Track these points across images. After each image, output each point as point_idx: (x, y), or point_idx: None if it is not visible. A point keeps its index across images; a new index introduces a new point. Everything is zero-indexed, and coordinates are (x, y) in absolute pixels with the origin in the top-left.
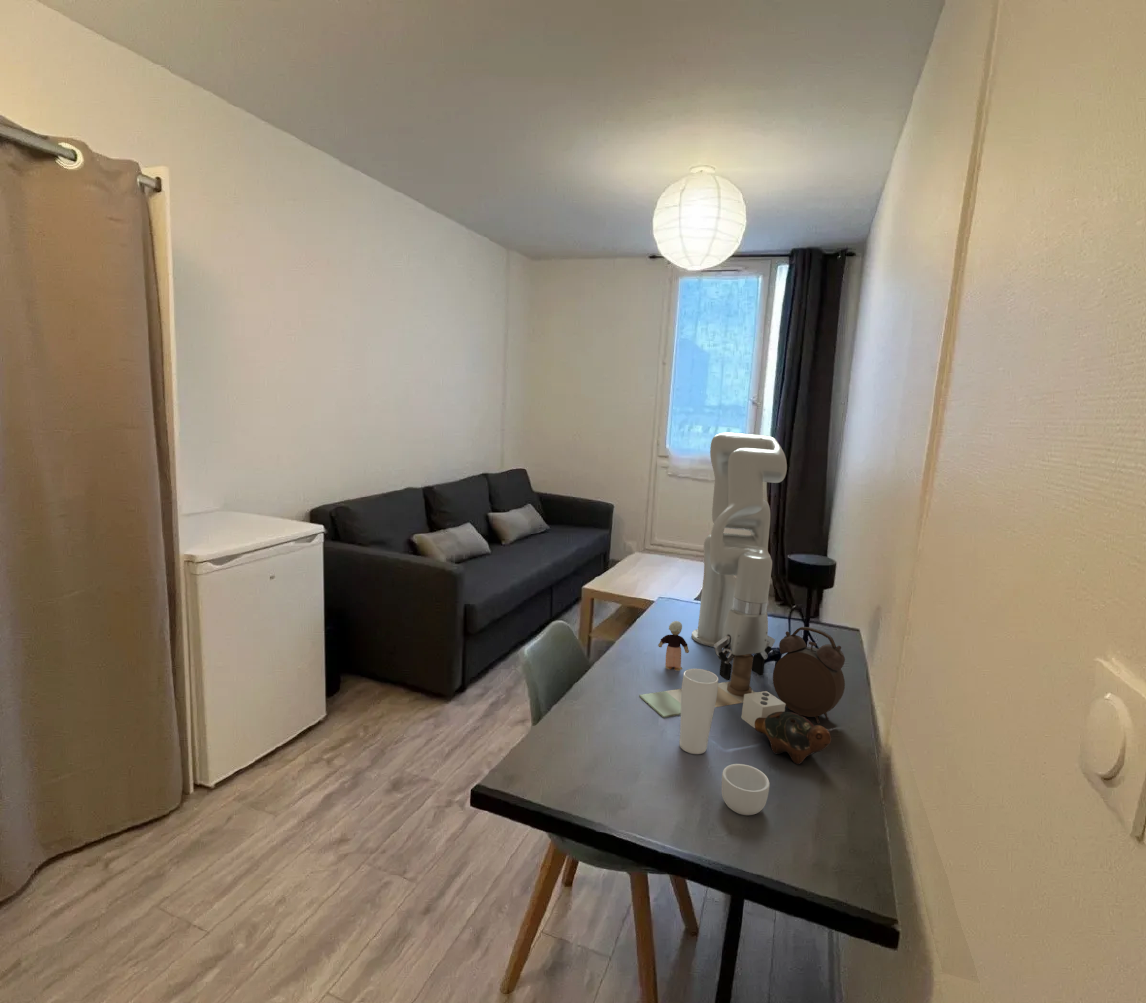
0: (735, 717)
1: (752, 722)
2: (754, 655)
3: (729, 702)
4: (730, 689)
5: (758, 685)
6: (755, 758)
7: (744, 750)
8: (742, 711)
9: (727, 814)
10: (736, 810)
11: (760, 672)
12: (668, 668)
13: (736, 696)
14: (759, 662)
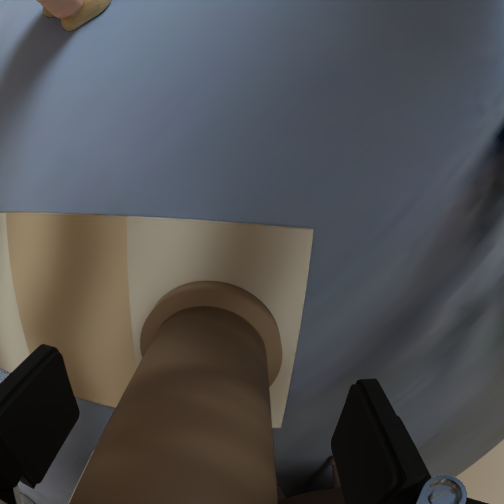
0: (82, 436)
1: None
2: (402, 483)
3: (95, 392)
4: (142, 348)
5: (391, 307)
6: (67, 497)
7: (56, 483)
8: (84, 469)
9: None
10: None
11: (335, 457)
12: (44, 10)
13: None
14: (356, 498)
